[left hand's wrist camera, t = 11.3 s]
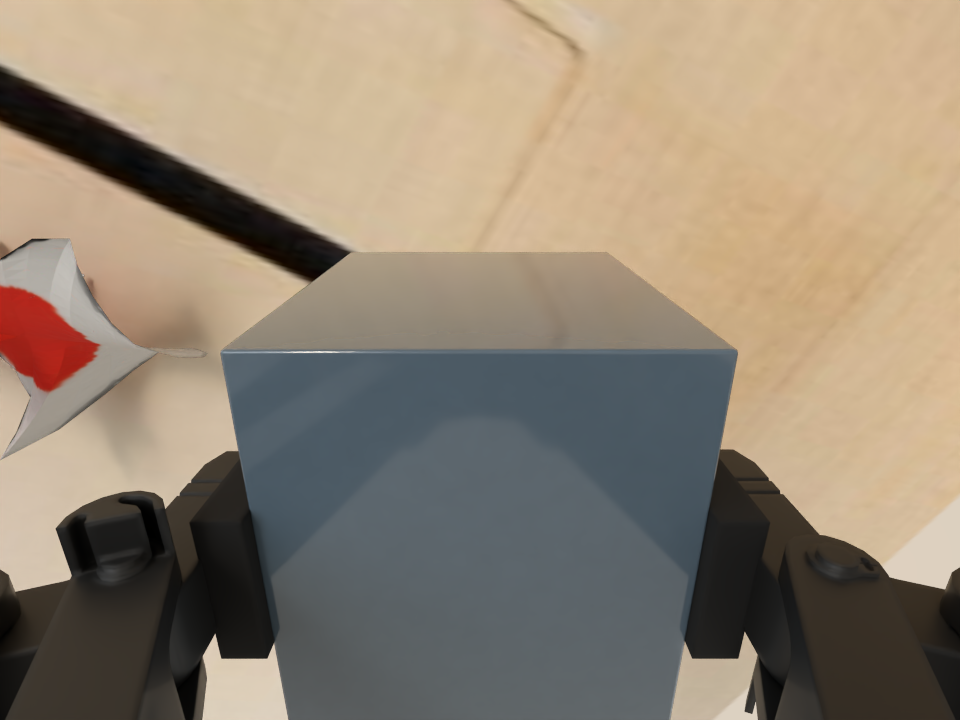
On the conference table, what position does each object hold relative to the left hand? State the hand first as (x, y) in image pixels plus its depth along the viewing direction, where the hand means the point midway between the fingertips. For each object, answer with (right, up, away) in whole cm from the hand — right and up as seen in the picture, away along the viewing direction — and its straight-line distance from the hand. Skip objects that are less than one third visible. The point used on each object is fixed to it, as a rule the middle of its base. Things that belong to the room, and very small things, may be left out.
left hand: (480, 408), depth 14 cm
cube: (0, +1, +2) cm, 2 cm away
